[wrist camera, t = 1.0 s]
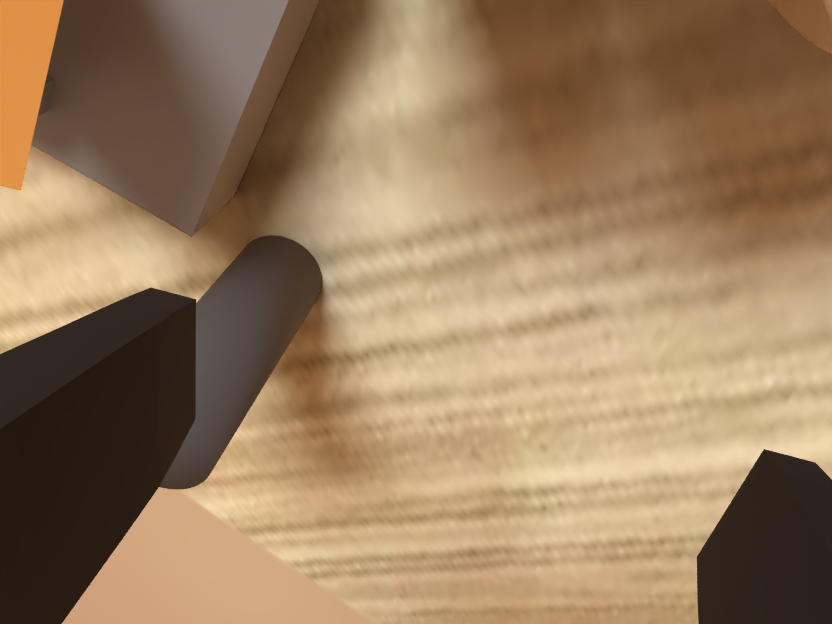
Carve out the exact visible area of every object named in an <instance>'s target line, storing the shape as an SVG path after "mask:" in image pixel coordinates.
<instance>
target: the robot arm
mask: <svg viewBox="0 0 832 624" xmlns="http://www.w3.org/2000/svg"><path fill="white" fill-rule="evenodd" d="M195 419H196V299H192V298H188V297H185V296H181V295H177V294H173V293H169V292H166V291H162V290H158V289H154V288H149V289H146V290H144V291H141V292H139V293H136V294H134V295H131V296H129V297H127V298H124V299H122V300H120V301H117V302H115V303H113V304H111V305H109V306H106V307H104V308H102V309H100V310H97V311H95V312H93V313H91V314H89V315H86V316H84V317H82V318H80V319H78V320H76V321H73V322H71V323H69V324H67V325H65V326H62V327H60V328H58V329H56V330H54V331H51V332H49V333H47V334H45V335H42V336H40V337H38V338H36V339H33V340H31V341H29V342H27V343H24V344H22V345H20V346H18V347H15V348H13V349H11V350H9V351H6V352H4V353H2V354H0V624H61V623H62V622H63V621H64V620H65V618H66V617H67V615H68V614H69V613H70V611H71V610H72V608H73V607H74V606H75V604H76V603H77V601H78V600H79V599H80V597H81V596H82V594H83V593H84V592H85V590H86V589H87V588H88V586H89V585H90V583H91V582H92V580H93V579H94V578H95V576H96V575H97V574H98V572H99V571H100V569H101V568H102V566H103V565H104V564H105V562H106V561H107V559H108V558H109V557H110V555H111V554H112V553H113V551H114V550H115V548H116V547H117V546H118V544H119V543H120V541H121V540H122V539H123V537H124V536H125V534H126V533H127V532H128V530H129V529H130V527H131V526H132V525H133V523H134V522H135V520H136V519H137V517H138V516H139V515H140V513H141V512H142V510H143V509H144V507H145V506H146V505H147V503H148V502H149V500H150V499H151V497H152V496H153V495H154V493H155V492H156V490H157V489H158V487H159V486H160V484H161V483H162V481H163V479H164V477H165V475H166V474H167V472H168V470H169V468H170V466H171V465H172V463H173V461H174V459H175V457H176V455H177V454H178V452H179V450H180V448H181V446H182V444H183V442H184V440H185V438H186V436H187V434H188V432H189V430H190V429H191V427H192V425H193V423H194V421H195ZM697 588H698V617H699V624H832V480H831V478H830V477H829V476H828V475H827V474H826V473H825V472H824V471H823V470H822V469H821V468H820V467H819V466H818V465H817V464H816V463H814V462H811V461H807V460H803V459H799V458H796V457H792V456H788V455H784V454H780V453H777V452H773V451H769V450H765V449H764V450H763V452H762V453H761V455H760V457H759V458H758V460H757V461H756V463H755V465H754V466H753V468H752V469H751V471H750V473H749V474H748V476H747V477H746V479H745V481H744V482H743V484H742V485H741V487H740V489H739V490H738V492H737V493H736V495H735V497H734V498H733V500H732V501H731V503H730V505H729V506H728V508H727V510H726V511H725V513H724V514H723V516H722V518H721V519H720V521H719V522H718V524H717V526H716V527H715V529H714V530H713V532H712V534H711V535H710V537H709V538H708V540H707V542H706V543H705V545H704V546H703V548H702V550H701V551H700V553H699V555H698V556H697Z"/></svg>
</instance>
